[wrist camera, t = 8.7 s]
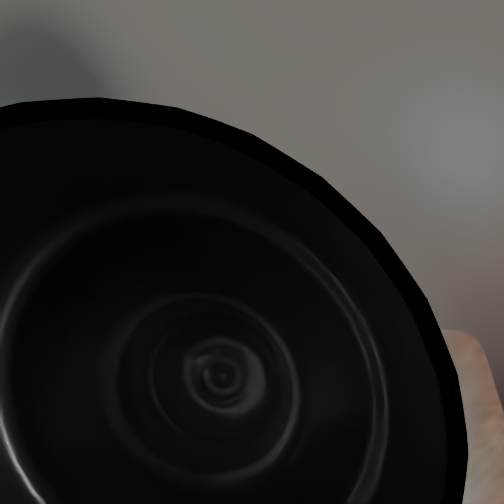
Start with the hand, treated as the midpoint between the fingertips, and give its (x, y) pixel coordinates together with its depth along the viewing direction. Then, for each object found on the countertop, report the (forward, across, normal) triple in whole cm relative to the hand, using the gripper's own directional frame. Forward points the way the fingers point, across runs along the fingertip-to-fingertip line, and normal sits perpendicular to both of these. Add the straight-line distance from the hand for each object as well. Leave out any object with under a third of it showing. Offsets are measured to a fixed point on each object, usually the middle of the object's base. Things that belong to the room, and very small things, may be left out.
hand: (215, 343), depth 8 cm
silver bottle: (+6, 0, +8) cm, 10 cm away
